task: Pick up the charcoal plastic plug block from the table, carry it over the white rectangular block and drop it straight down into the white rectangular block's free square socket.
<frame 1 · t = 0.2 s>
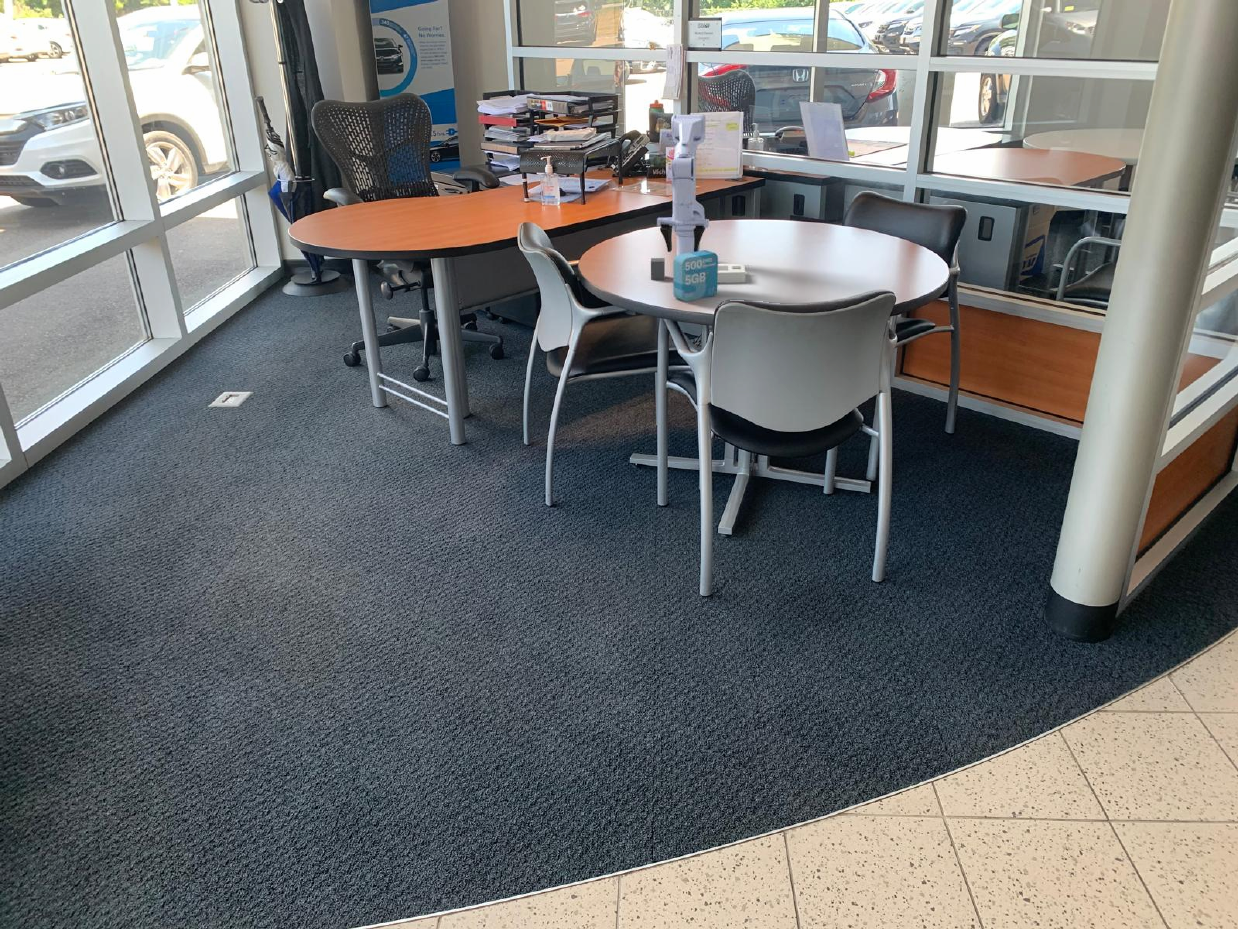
hand: (682, 251, 258), 10 cm above the table, tool pointing down, fingers open, 7 cm apart
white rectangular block: (713, 278, 268), on the table
plug: (657, 278, 271), on the table
data package: (695, 297, 252), on the table
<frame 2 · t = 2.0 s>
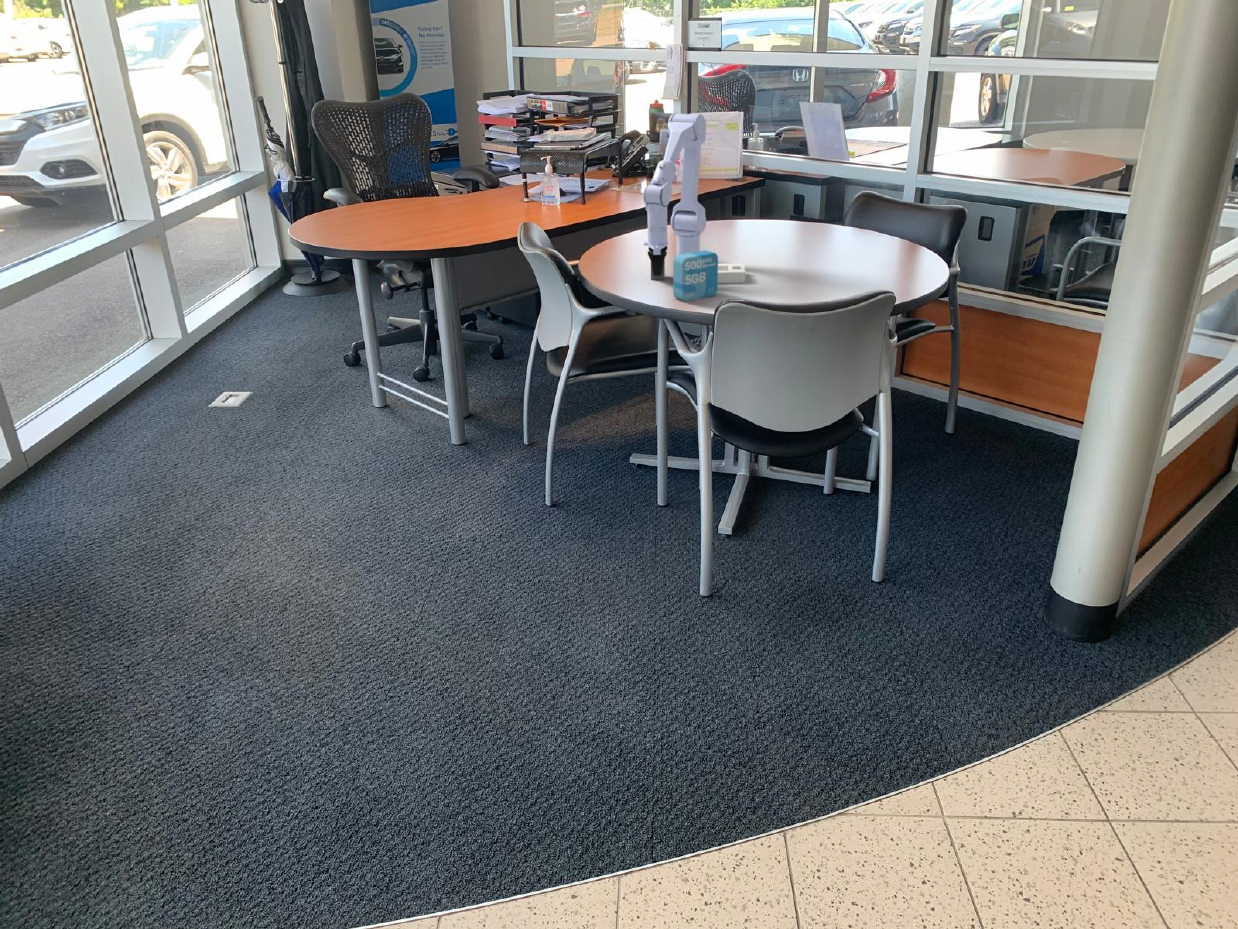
hand: (657, 273, 270), 1 cm above the table, tool pointing down, fingers closed on plug, 4 cm apart
plug: (657, 277, 271), on the table, touching gripper
everything else where it was.
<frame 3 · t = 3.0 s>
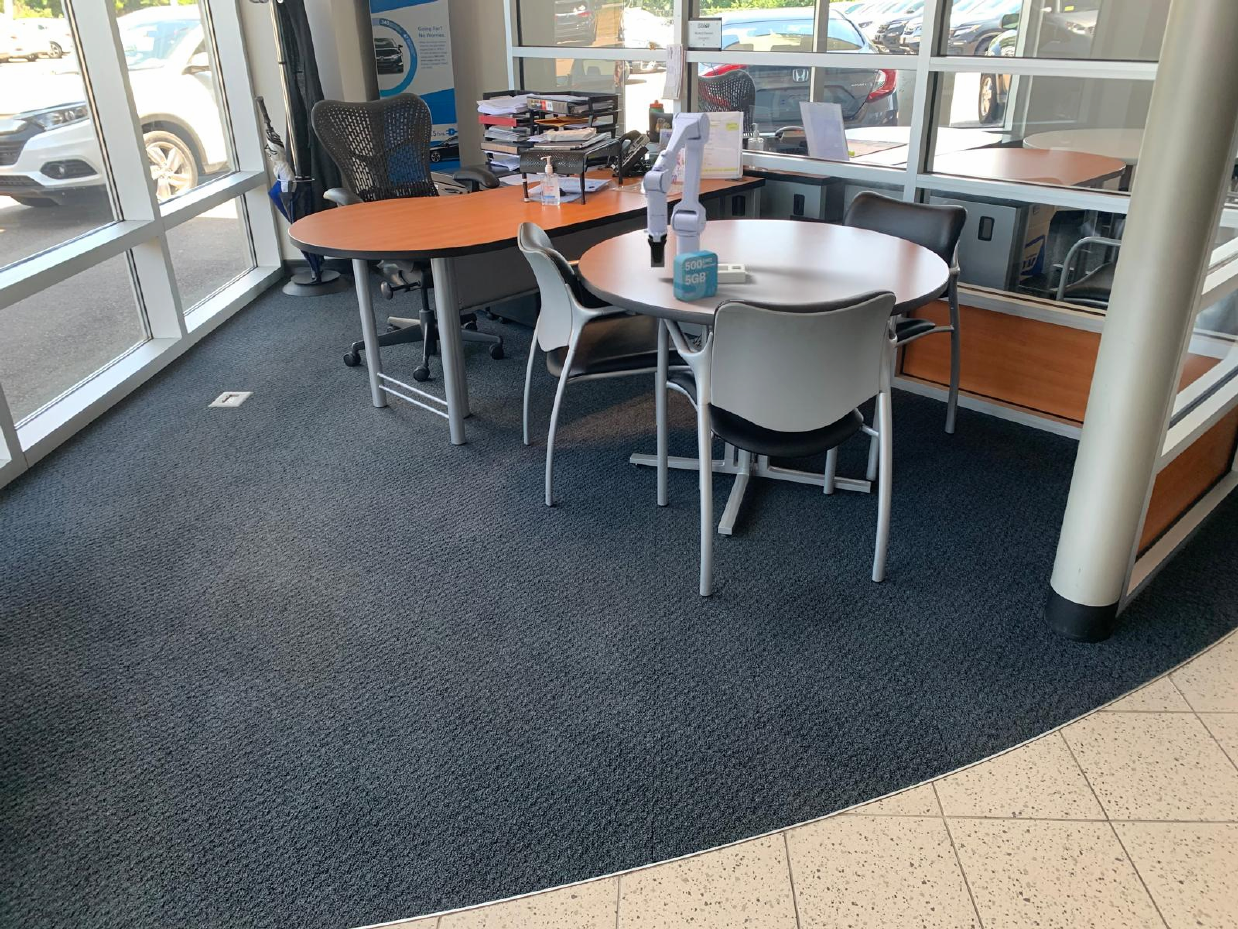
hand: (657, 260, 268), 5 cm above the table, tool pointing down, fingers closed on plug, 4 cm apart
plug: (657, 265, 269), point 4 cm above the table, touching gripper
everything else where it was.
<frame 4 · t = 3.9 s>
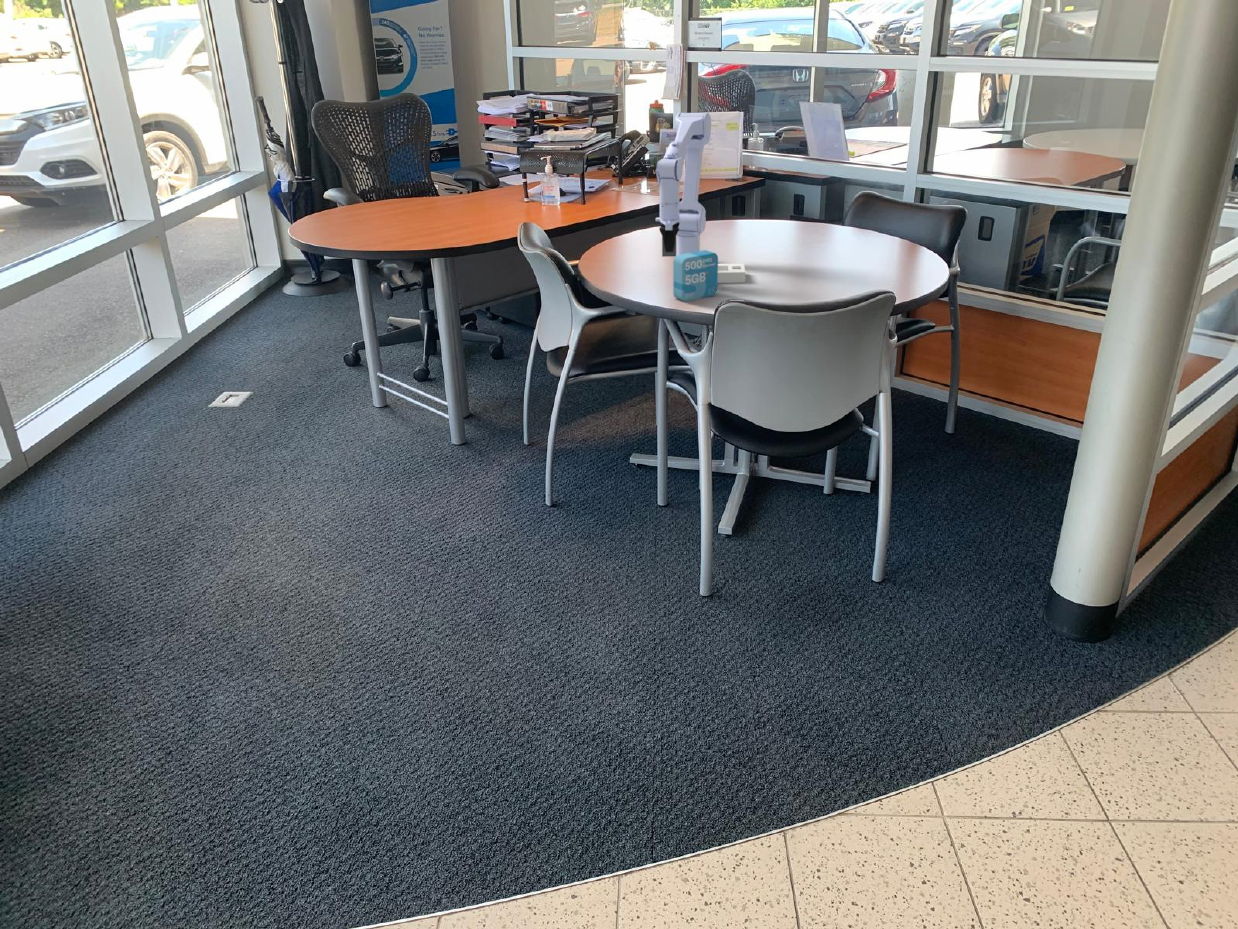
hand: (669, 249, 266), 8 cm above the table, tool pointing down, fingers closed on plug, 4 cm apart
plug: (669, 254, 267), point 7 cm above the table, touching gripper
everything else where it was.
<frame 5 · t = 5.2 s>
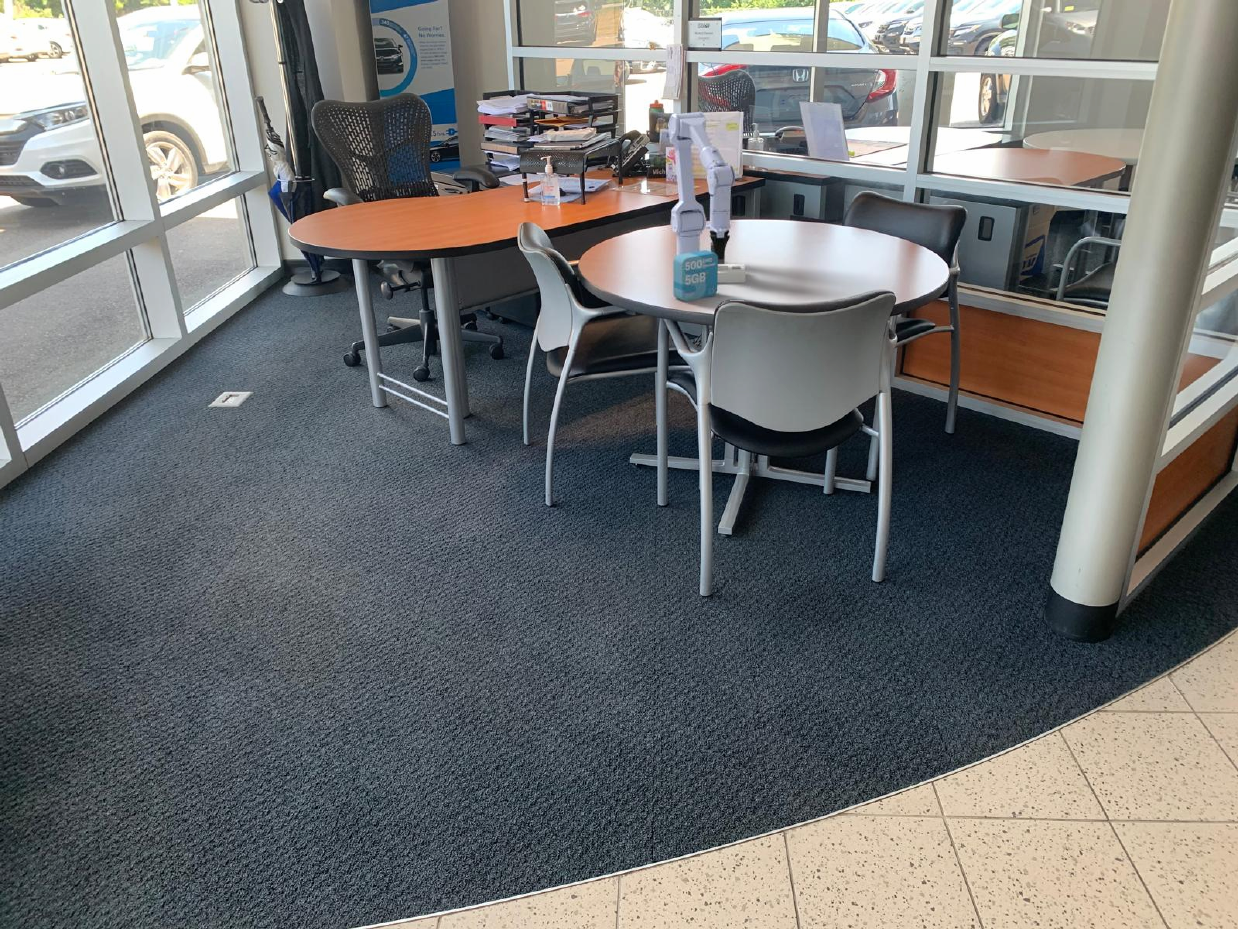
hand: (719, 257, 266), 6 cm above the table, tool pointing down, fingers closed on plug, 4 cm apart
plug: (717, 262, 266), point 5 cm above the table, touching gripper
everything else where it was.
when the fingers open (4 cm above the table, at t = 6.0 s): plug drops 2 cm, resting in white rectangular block.
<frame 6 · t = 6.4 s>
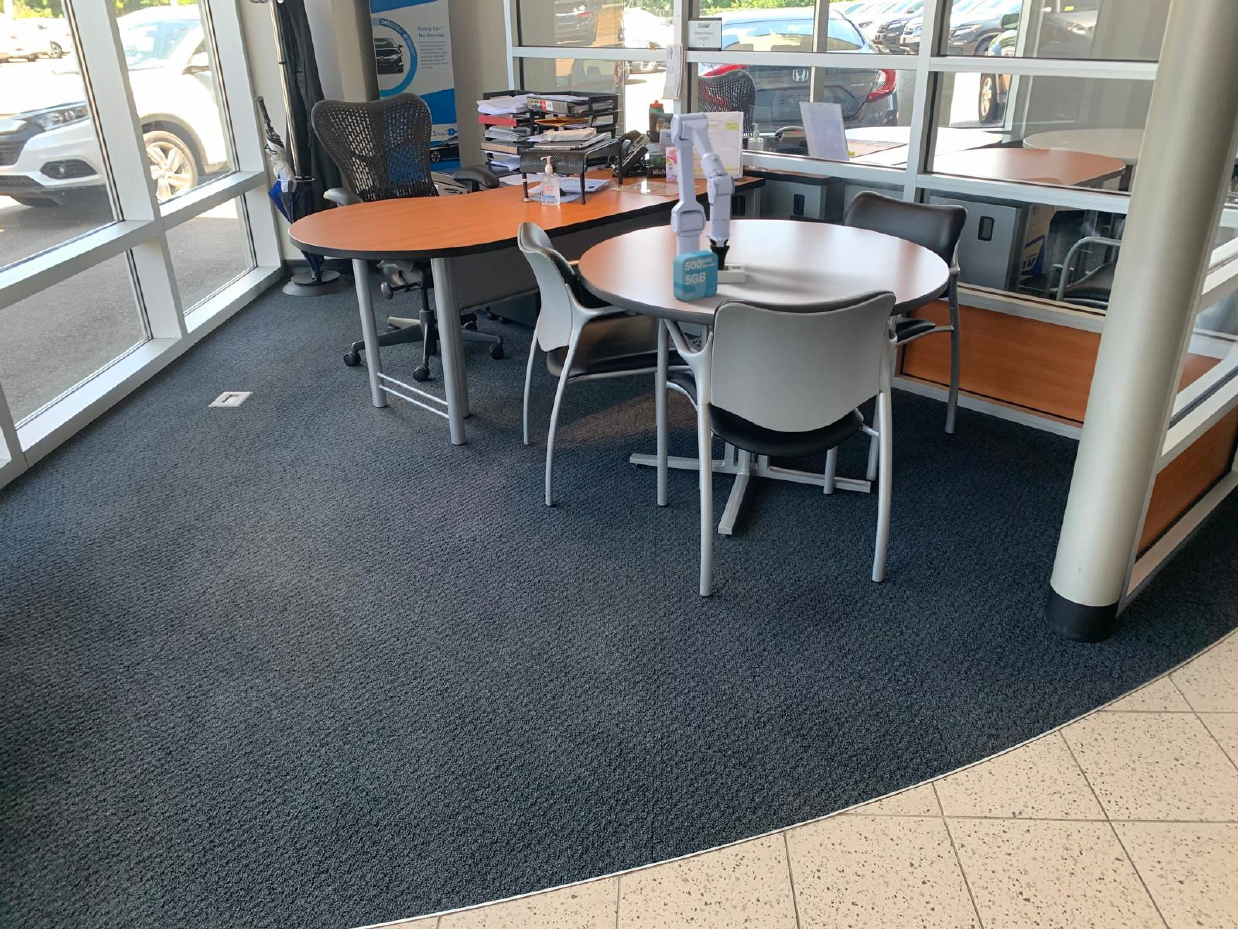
hand: (718, 265, 267), 4 cm above the table, tool pointing down, fingers open, 7 cm apart
plug: (717, 278, 268), resting in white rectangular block
everything else where it was.
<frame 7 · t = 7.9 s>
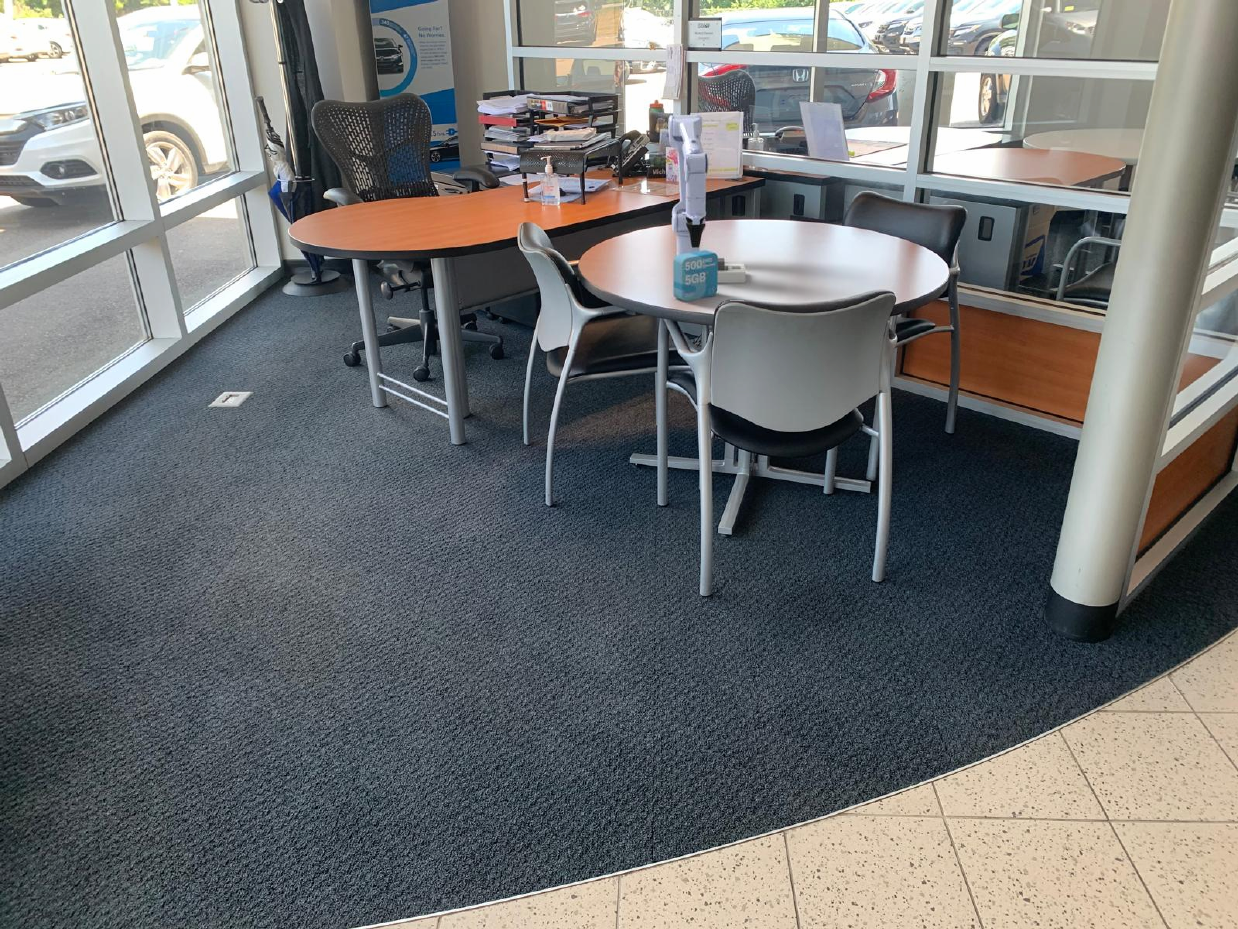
hand: (695, 244, 268), 9 cm above the table, tool pointing down, fingers open, 7 cm apart
nothing on the table moved.
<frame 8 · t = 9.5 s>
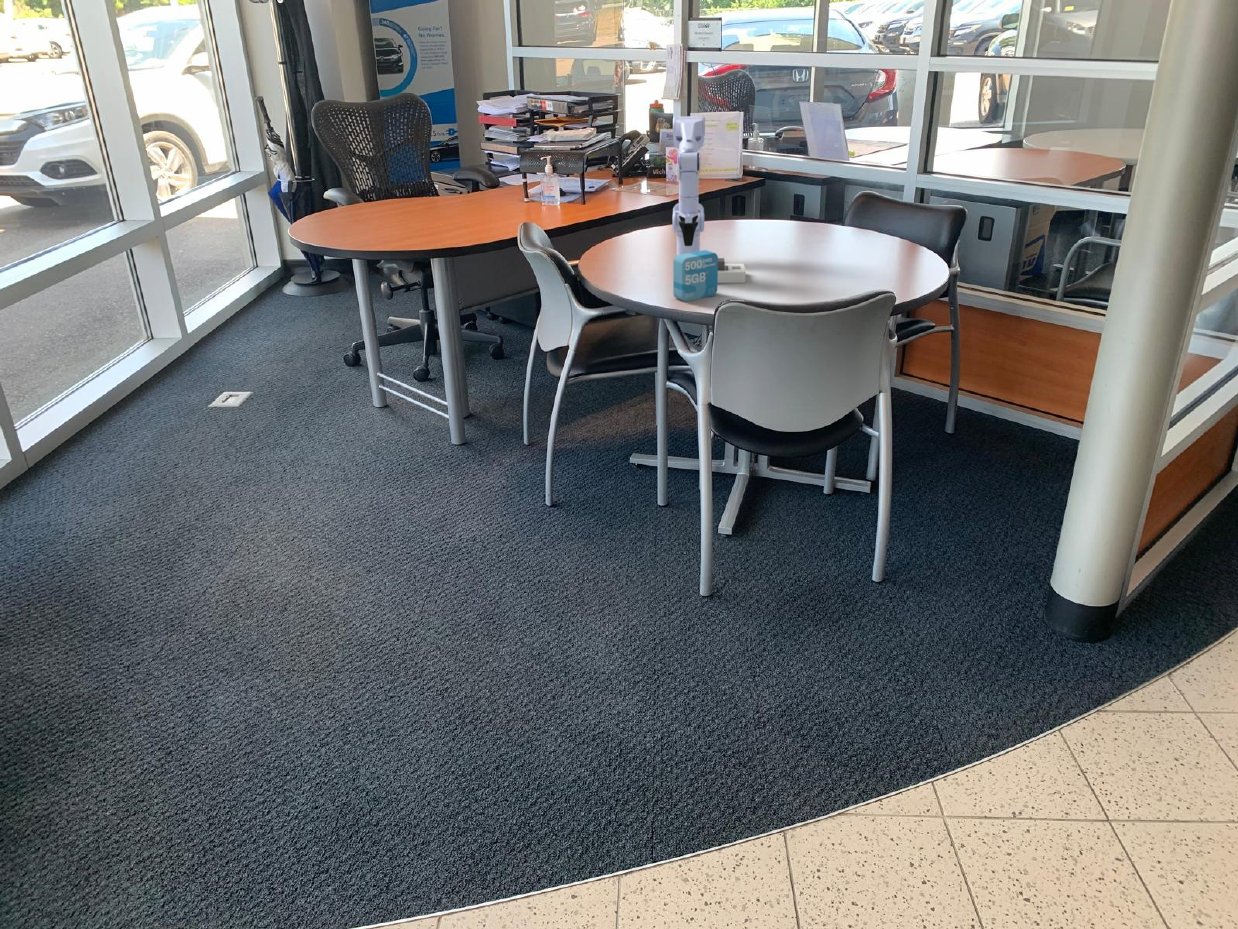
hand: (688, 242, 269), 9 cm above the table, tool pointing down, fingers open, 7 cm apart
nothing on the table moved.
at the end: plug 0.4 cm from the target spot on the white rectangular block, point 0.0 cm above the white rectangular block's base; plug tilted 0°; the gripper is holding nothing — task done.
